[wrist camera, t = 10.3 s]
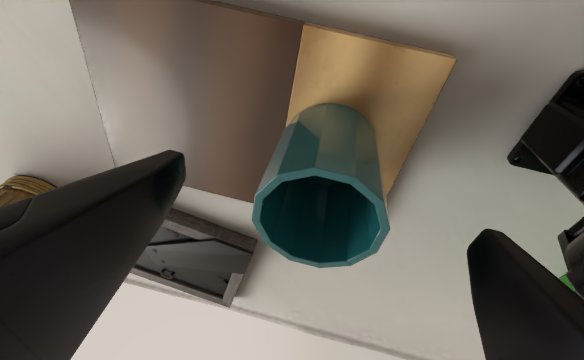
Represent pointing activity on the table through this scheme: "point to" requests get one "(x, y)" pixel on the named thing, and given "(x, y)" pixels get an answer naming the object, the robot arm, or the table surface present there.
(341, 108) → the teal cup
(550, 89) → the table surface
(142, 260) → the picture frame
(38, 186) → the wooden mug
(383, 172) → the serving board
